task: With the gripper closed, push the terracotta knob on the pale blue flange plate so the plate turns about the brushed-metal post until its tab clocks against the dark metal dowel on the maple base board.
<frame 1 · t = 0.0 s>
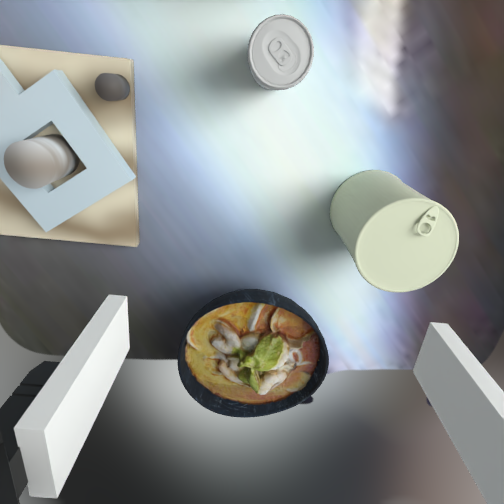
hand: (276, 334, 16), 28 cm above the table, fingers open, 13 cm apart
beverage can: (273, 63, 37), on the table
flange plate: (22, 138, 35), point 5 cm above the table, hinge at 30.0°
can: (368, 208, 43), on the table
bowl: (253, 319, 49), on the table
post base: (64, 153, 40), on the table
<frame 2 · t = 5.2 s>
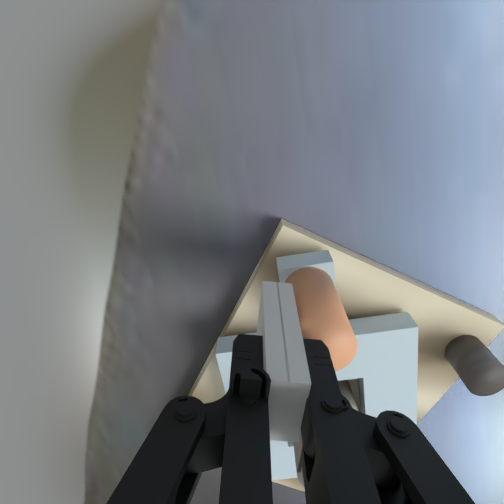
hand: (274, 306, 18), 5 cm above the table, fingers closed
flange plate: (325, 406, 21), point 5 cm above the table, hinge at 29.9°, touching gripper
post base: (316, 379, 27), on the table
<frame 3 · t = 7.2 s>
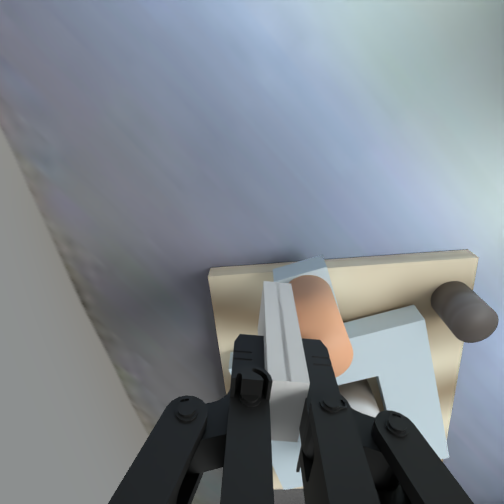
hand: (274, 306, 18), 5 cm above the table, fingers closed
flange plate: (341, 409, 21), point 5 cm above the table, hinge at 8.5°, touching gripper
post base: (336, 381, 27), on the table
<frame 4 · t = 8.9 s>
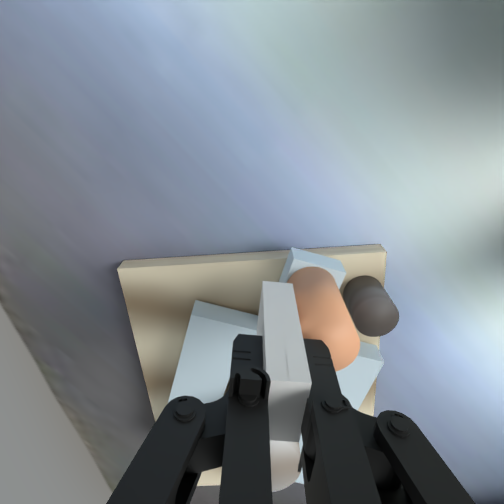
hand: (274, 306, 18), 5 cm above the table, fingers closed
flange plate: (273, 404, 21), point 5 cm above the table, hinge at -25.4°
post base: (260, 377, 27), on the table
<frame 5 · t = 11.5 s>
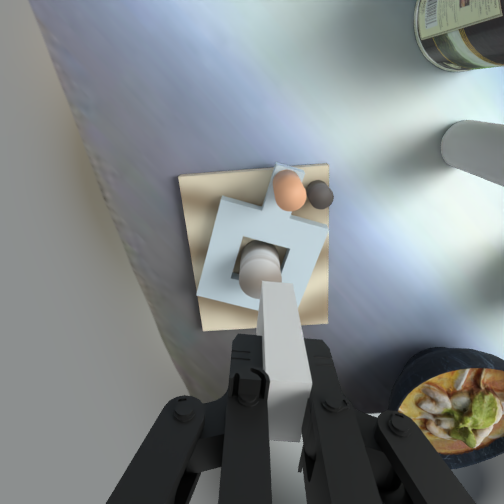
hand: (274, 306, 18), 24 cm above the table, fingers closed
beverage can: (459, 142, 38), on the table
flange plate: (266, 250, 38), point 5 cm above the table, hinge at -25.5°
coffee can: (468, 9, 34), on the table
bowl: (432, 370, 51), on the table
post base: (259, 252, 44), on the table
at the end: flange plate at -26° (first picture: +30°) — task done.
